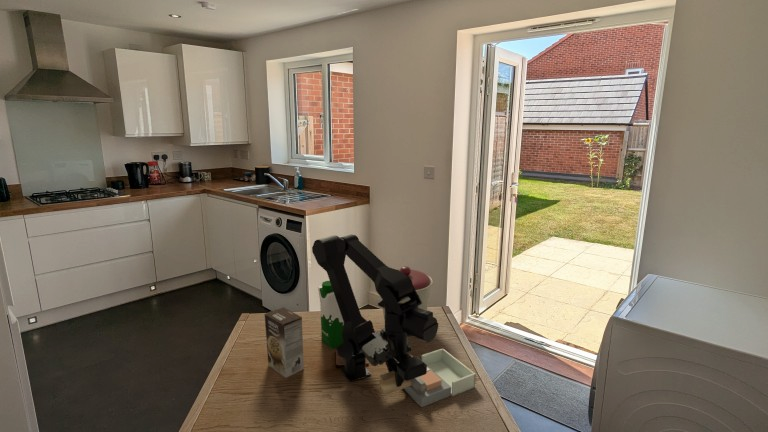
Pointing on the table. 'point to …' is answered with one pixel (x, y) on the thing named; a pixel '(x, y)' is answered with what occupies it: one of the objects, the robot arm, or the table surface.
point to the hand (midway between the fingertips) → (395, 383)
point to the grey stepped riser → (430, 393)
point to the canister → (418, 286)
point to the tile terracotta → (431, 380)
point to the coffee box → (284, 341)
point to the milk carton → (330, 317)
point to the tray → (450, 370)
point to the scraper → (389, 385)
